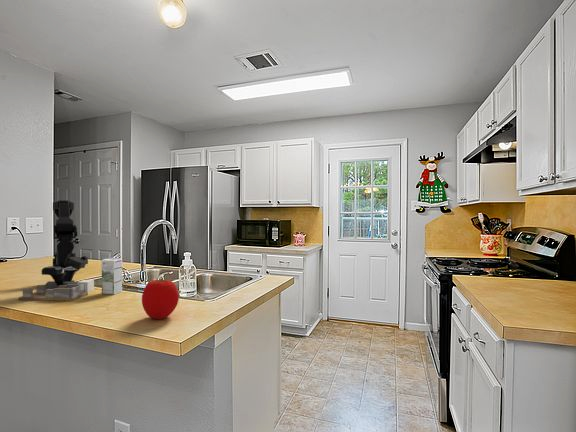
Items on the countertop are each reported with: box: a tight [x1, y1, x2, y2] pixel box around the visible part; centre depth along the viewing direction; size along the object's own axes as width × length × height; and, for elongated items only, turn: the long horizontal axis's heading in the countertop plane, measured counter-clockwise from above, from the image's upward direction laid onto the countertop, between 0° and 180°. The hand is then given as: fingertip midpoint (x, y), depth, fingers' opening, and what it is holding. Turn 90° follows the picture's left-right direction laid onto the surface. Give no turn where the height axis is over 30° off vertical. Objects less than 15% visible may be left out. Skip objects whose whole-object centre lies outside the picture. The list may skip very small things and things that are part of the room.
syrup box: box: [101, 257, 123, 295], centre depth 135 cm, size 6×6×14 cm
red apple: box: [141, 278, 180, 320], centre depth 104 cm, size 11×11×13 cm
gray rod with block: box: [45, 279, 95, 294], centre depth 138 cm, size 18×4×4 cm, turn 89°
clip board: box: [18, 284, 89, 302], centre depth 127 cm, size 9×21×4 cm, turn 89°
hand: (64, 287), depth 138 cm, fingers closed on gray rod with block, 4 cm apart
